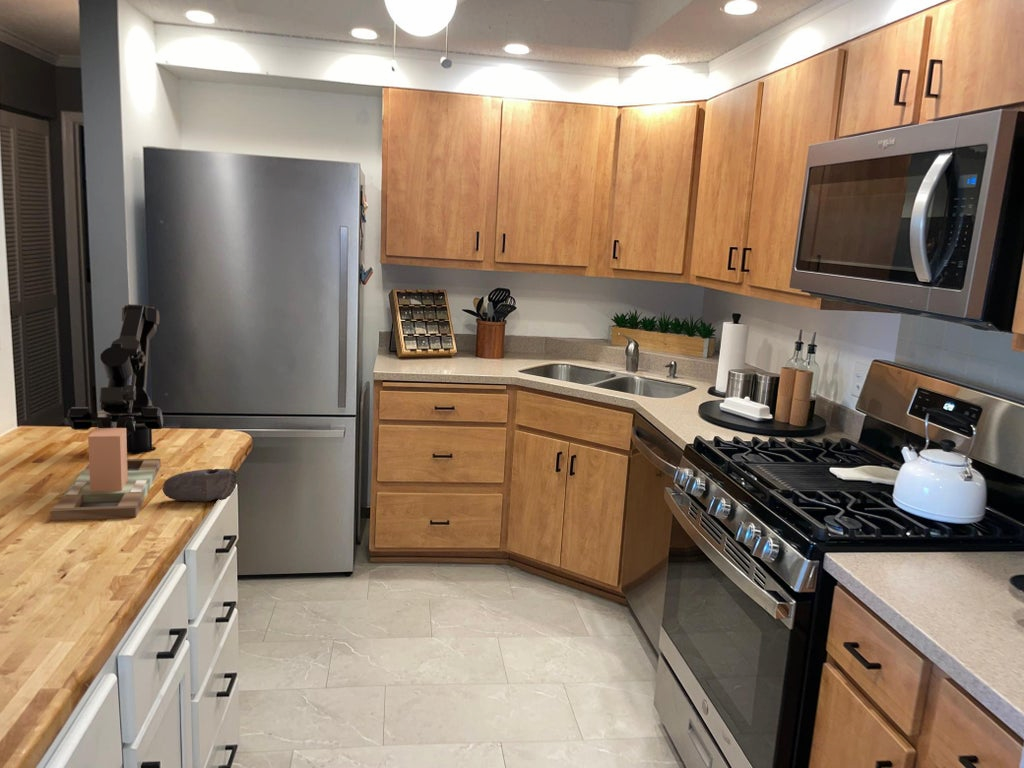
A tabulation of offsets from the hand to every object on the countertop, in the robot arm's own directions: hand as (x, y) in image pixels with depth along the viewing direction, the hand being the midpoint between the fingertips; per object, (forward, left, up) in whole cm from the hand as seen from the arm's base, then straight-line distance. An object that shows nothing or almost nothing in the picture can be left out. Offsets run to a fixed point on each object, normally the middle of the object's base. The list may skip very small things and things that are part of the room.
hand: (111, 451), depth 166 cm
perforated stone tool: (-7, +20, -9) cm, 23 cm away
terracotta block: (+3, +3, -7) cm, 8 cm away
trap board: (+1, +1, -9) cm, 9 cm away
